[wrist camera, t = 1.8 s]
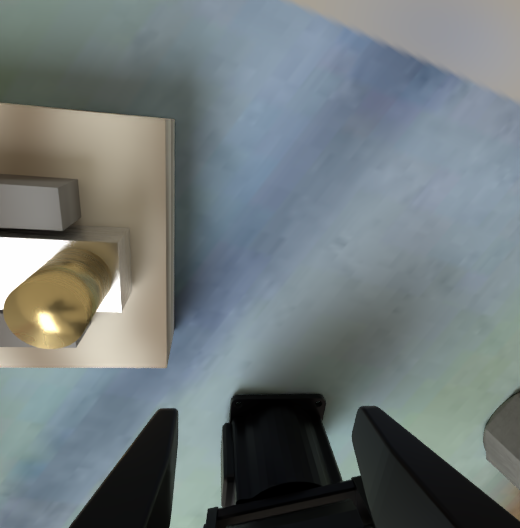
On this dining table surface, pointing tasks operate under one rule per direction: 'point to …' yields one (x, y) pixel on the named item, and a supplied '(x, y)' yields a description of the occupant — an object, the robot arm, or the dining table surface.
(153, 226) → the door mockup
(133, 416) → the dining table surface
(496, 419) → the coffeepot
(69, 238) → the slide bolt
